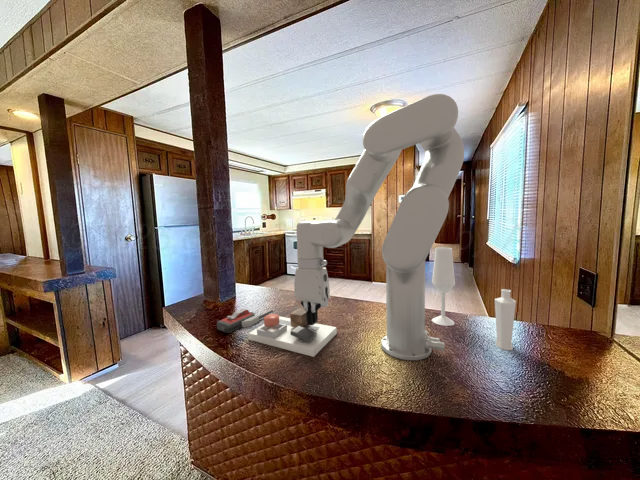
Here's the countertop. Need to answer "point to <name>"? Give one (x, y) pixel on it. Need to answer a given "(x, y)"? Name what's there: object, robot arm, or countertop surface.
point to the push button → (271, 320)
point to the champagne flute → (443, 280)
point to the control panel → (293, 337)
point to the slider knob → (298, 318)
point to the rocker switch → (303, 333)
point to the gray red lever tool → (239, 320)
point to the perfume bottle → (504, 319)
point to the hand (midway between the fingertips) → (312, 323)
